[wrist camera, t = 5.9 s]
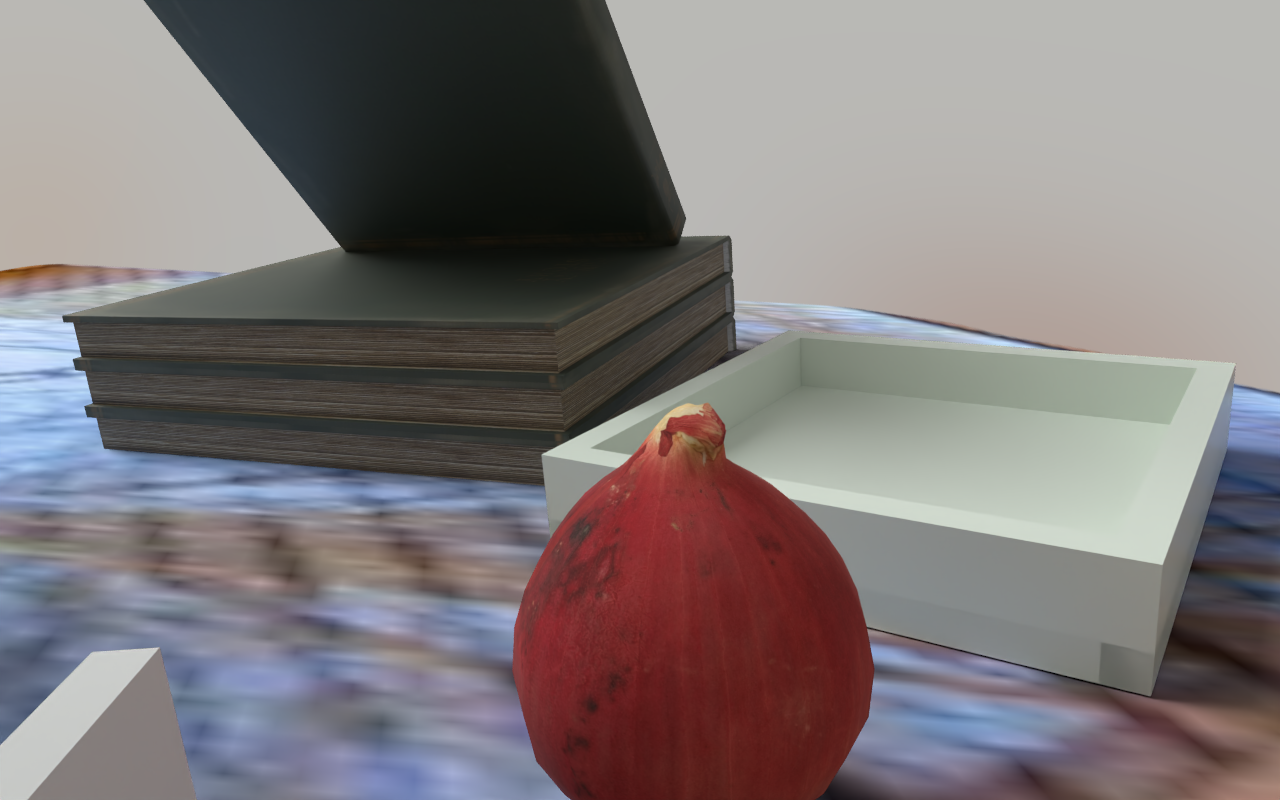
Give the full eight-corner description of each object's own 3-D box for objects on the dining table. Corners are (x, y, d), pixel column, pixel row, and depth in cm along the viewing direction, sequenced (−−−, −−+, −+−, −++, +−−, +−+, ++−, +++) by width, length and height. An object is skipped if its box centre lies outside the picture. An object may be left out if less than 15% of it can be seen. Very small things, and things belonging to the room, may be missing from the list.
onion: (576, 1023, 14) (514, 507, 12) (515, 775, 19) (464, 387, 17) (937, 913, 15) (946, 432, 13) (787, 710, 21) (775, 343, 18)
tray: (1150, 696, 20) (1162, 564, 19) (551, 549, 29) (541, 454, 28) (1226, 449, 33) (1235, 363, 32) (790, 399, 42) (788, 330, 41)
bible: (737, 355, 51) (712, -189, 44) (574, 500, 34) (487, -359, 26) (373, 345, 60) (303, -110, 52) (95, 456, 42) (-67, -199, 35)
